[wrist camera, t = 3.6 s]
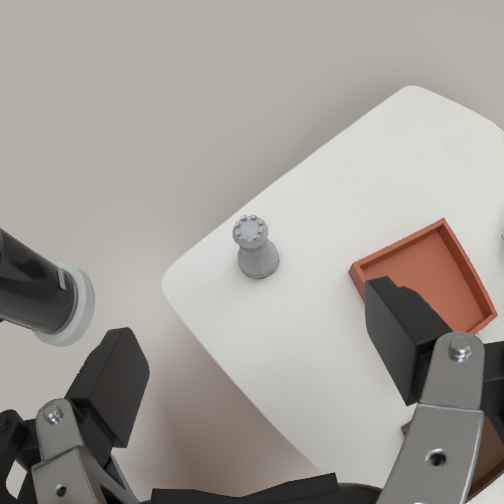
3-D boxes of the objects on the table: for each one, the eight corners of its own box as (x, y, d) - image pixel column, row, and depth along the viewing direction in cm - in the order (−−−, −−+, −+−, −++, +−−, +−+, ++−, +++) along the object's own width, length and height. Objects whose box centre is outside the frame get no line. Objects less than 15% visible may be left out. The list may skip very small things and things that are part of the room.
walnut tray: (433, 512, 20) (442, 519, 18) (401, 426, 26) (409, 430, 23) (517, 447, 21) (528, 449, 18) (490, 363, 26) (502, 360, 24)
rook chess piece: (283, 273, 34) (280, 242, 27) (243, 284, 34) (229, 255, 27) (273, 237, 36) (266, 199, 29) (235, 248, 36) (219, 212, 29)
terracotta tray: (401, 379, 28) (409, 379, 25) (348, 272, 33) (352, 263, 31) (486, 320, 28) (498, 315, 26) (436, 227, 34) (443, 217, 31)
